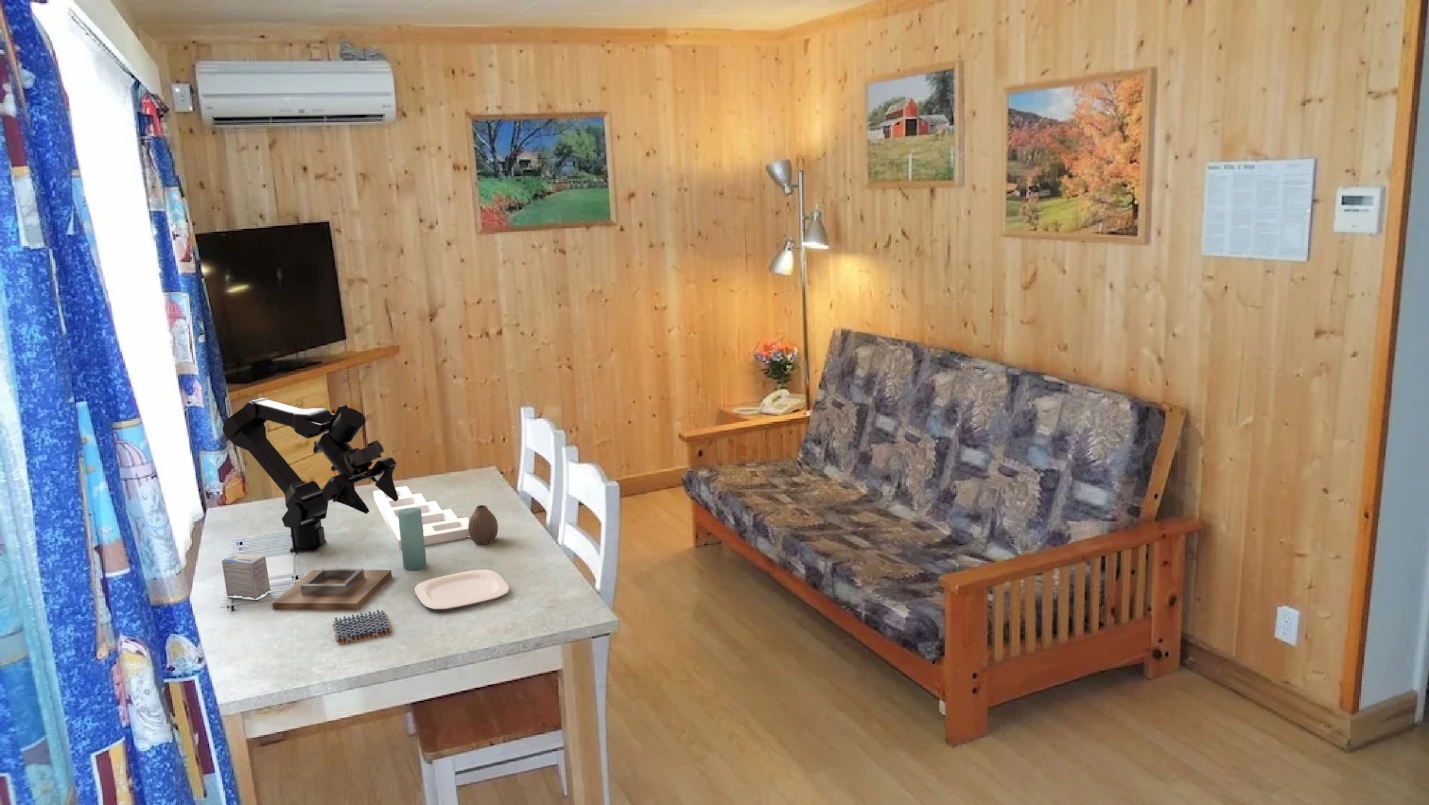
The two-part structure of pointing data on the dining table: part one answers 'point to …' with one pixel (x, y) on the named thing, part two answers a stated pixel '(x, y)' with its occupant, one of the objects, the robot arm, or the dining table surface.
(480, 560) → the dining table surface
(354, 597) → the board
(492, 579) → the plate
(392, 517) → the holder
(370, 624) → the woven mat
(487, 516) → the vase
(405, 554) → the pin
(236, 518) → the dining table surface
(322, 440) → the robot arm
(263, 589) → the medicine box
